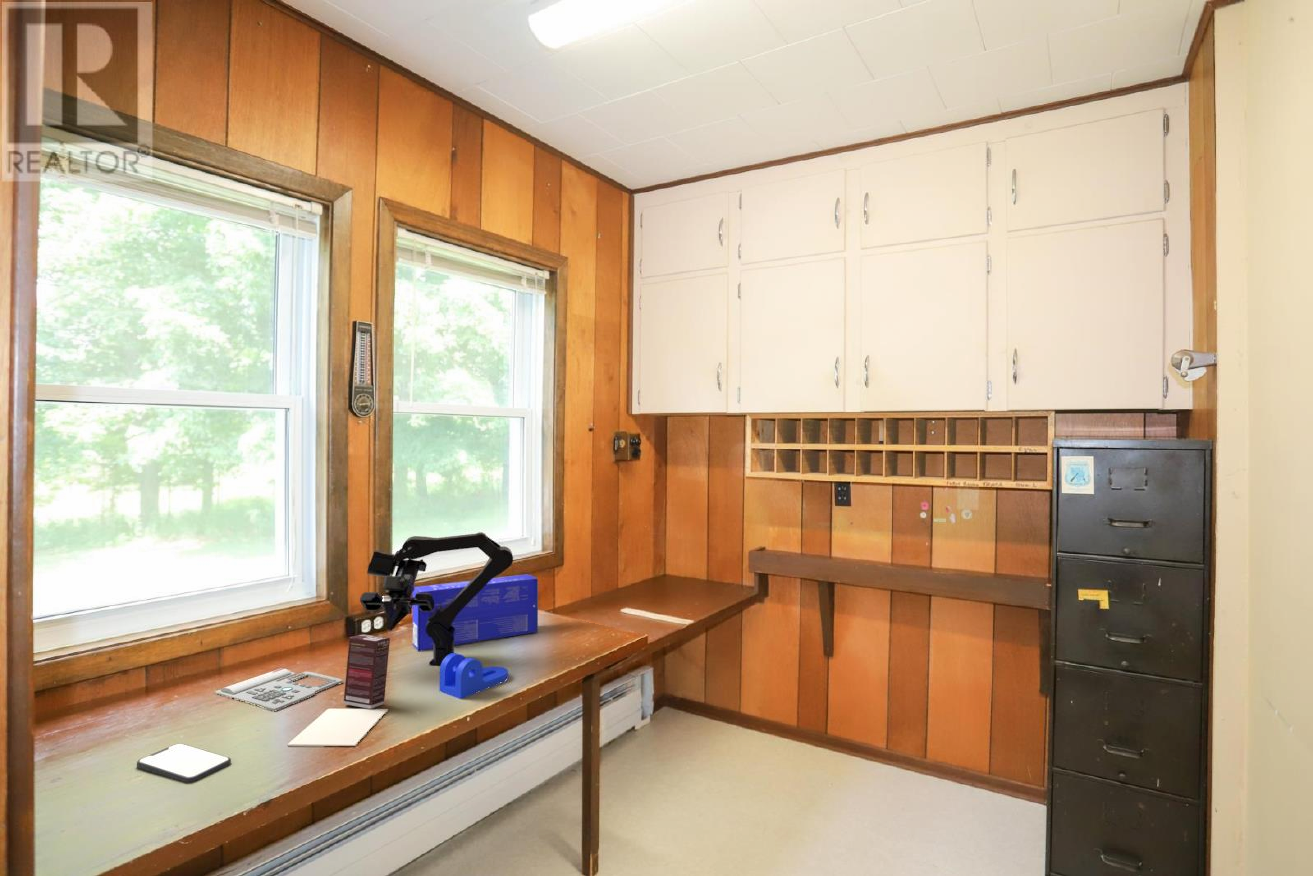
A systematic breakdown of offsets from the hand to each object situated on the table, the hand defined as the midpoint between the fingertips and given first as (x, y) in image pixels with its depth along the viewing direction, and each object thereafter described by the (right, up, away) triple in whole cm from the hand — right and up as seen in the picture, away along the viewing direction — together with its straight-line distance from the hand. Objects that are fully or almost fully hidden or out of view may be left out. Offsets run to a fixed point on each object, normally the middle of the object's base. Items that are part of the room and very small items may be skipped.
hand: (389, 630), depth 174 cm
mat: (0, -14, -27) cm, 31 cm away
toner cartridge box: (+13, -14, +38) cm, 42 cm away
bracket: (+24, -14, -1) cm, 28 cm away
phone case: (-22, -14, -45) cm, 52 cm away
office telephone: (-25, -14, -6) cm, 29 cm away
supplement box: (0, -14, -16) cm, 21 cm away
